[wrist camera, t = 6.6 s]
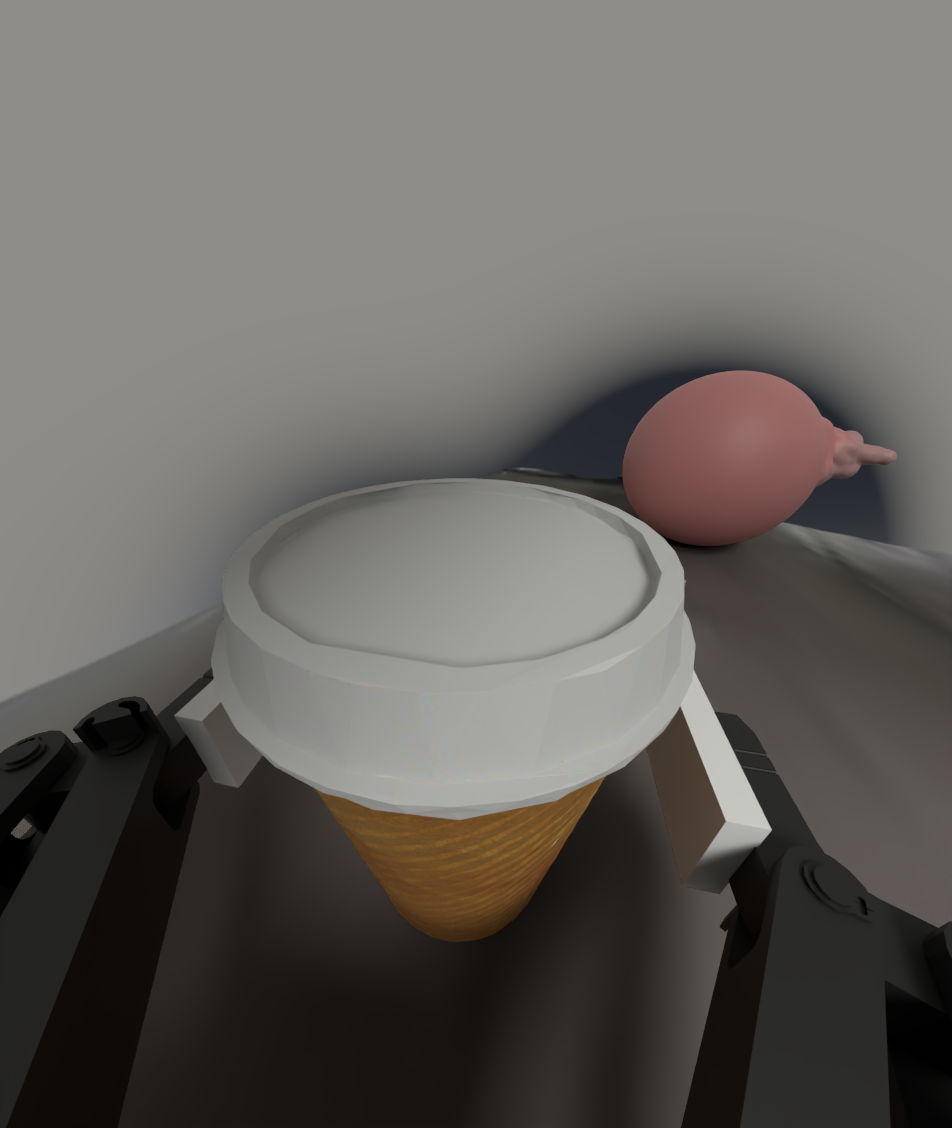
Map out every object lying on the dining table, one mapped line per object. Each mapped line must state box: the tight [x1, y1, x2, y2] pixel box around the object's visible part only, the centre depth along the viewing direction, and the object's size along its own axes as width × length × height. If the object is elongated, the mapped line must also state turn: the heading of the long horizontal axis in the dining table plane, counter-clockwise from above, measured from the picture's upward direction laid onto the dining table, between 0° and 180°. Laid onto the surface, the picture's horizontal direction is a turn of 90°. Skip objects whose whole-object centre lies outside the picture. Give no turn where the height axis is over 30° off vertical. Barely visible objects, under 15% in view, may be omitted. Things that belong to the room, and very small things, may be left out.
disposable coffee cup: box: [211, 478, 696, 942], centre depth 10 cm, size 10×10×12 cm
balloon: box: [623, 371, 897, 546], centre depth 32 cm, size 15×20×15 cm
